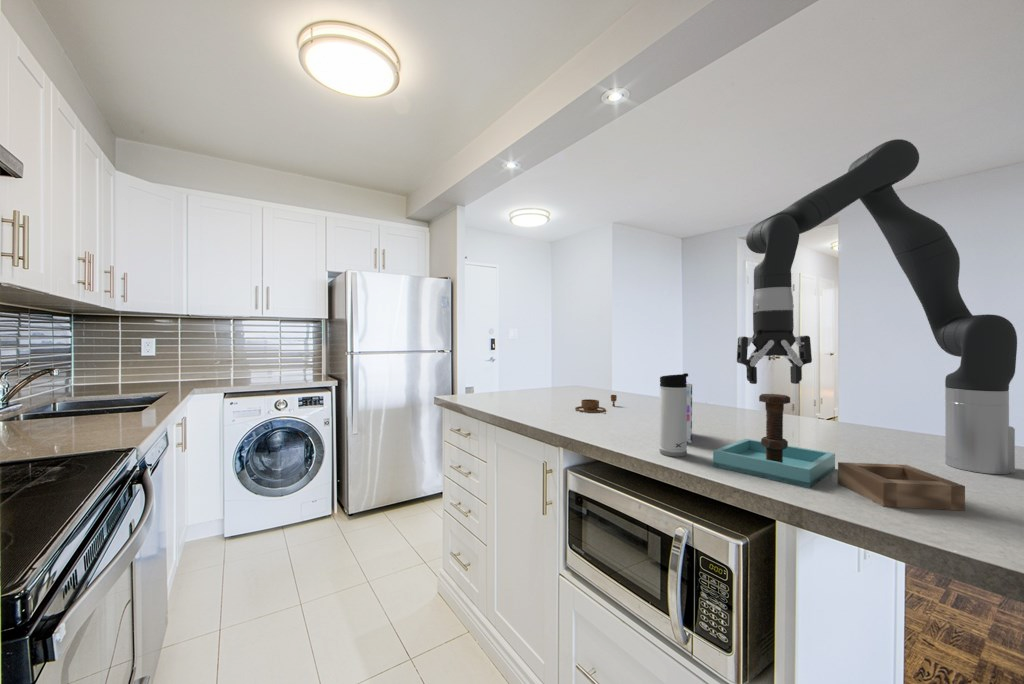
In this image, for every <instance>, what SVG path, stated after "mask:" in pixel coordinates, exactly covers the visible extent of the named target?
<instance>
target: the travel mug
mask: <svg viewBox="0 0 1024 684" xmlns="http://www.w3.org/2000/svg"><path fill="white" fill-rule="evenodd" d="M687 377H688V378H689V373H688V372H687V373H686V372H685V373H682V374H681V373H679V374H670V375H662V376H660V377H659V453H660V454H661V455H663V456H666V457H672V458H682V457H685V456H687V455H688V449H687V446H688V443H687V390H686V389H687V384H686V383H688V381H687Z"/></svg>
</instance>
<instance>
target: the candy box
mask: <svg viewBox="0 0 1024 684" xmlns="http://www.w3.org/2000/svg"><path fill="white" fill-rule="evenodd" d="M686 384H687V389H686V390H687V444H692V443H693V383H689V382H687V383H686Z"/></svg>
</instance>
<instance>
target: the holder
mask: <svg viewBox="0 0 1024 684" xmlns="http://www.w3.org/2000/svg"><path fill="white" fill-rule="evenodd" d="M837 483H838V484H840V485H842V486H844V487H845V488H847V489H849V490H851V491H854V493H855V492H856V493H857V494H859V495H861V496H863V497H865V498H867V499H868V500H871V501H872V502H875V503H877V504H878V505H880V506H881V507H886V508H887V507H889V508H906V509H907V508H908V509H926V510H928V509H929V510H930V509H931V510H947V511H949V510H950V511H966V486H965V485H964V484H961V483H957V482H954V481H952V480H950V479H947V478H944V477H942V476H938V475H936V474H933V473H930V472H928V471H925V470H922V469H919V468H916V467H914V466H911V465H908V464H897V463H896V464H893V463H886V464H885V463H868V462H867V463H865V462H844V461H843V462H837Z"/></svg>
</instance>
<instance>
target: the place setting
mask: <svg viewBox="0 0 1024 684" xmlns="http://www.w3.org/2000/svg"><path fill="white" fill-rule="evenodd" d="M617 399H618V398H617V394H610V402H612V405H611V406H612V407H615V406H616V404H615V403H616V402H617ZM579 408H580V409H579ZM598 409H599V410H598ZM574 410H575V412H578V411H580V412H579V413H583V412H587V413H586V414H598V413H599V414H600V412H601V413H604V415H607V413H606V408H605V407H602V406H600V400H598V399H590V398H589V399H586V398H585V399H581V405H580V406H576V407H574Z"/></svg>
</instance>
